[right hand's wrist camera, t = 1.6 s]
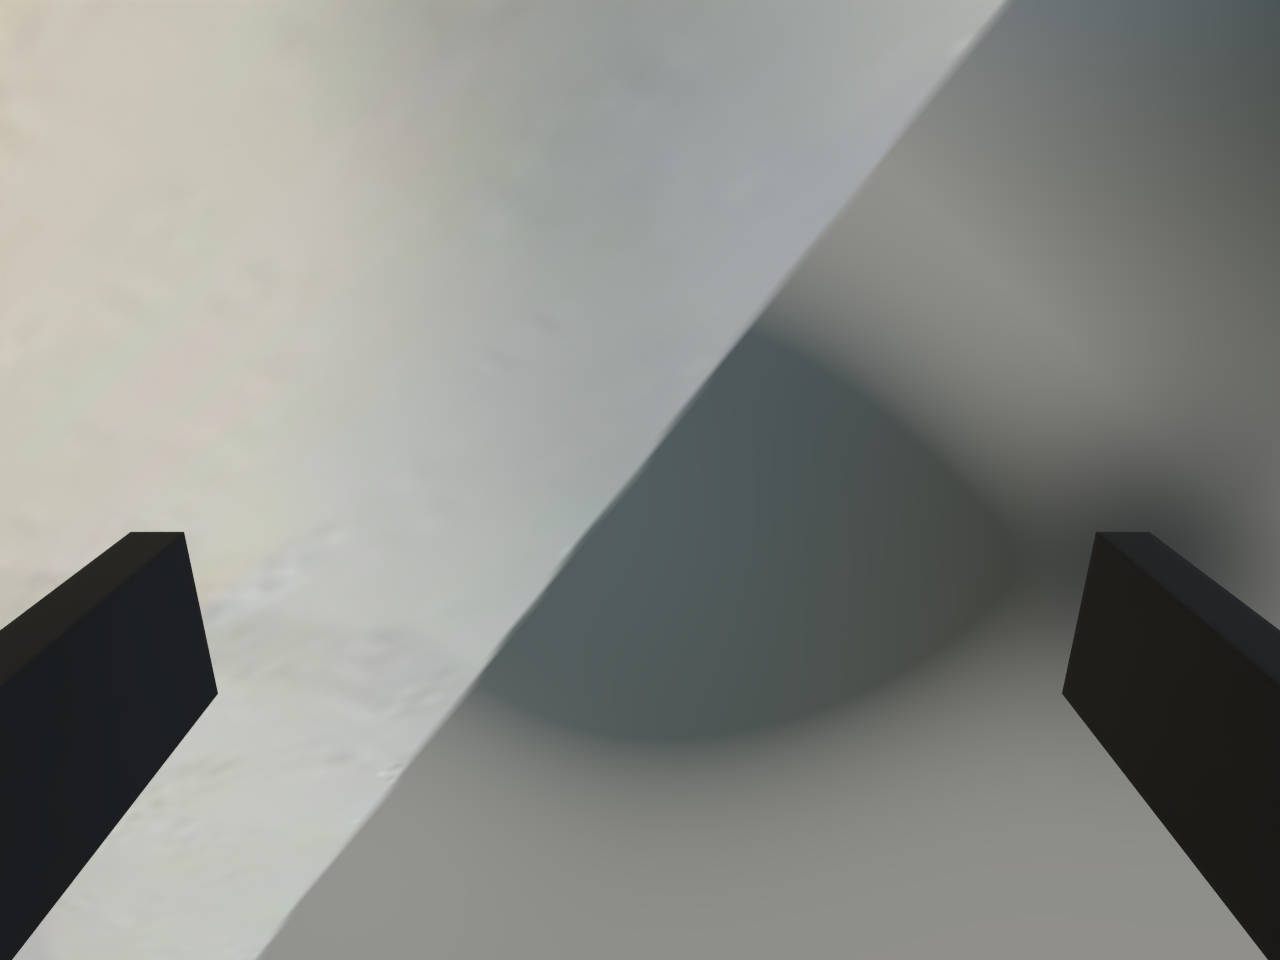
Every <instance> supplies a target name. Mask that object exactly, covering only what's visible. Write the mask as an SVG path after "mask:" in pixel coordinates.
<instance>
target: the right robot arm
mask: <svg viewBox="0 0 1280 960" xmlns="http://www.w3.org/2000/svg"><path fill="white" fill-rule="evenodd" d="M217 694H218V692H217V687H216V682H215V678H214V673H213V668H212V663H211V658H210V654H209V649H208V644H207V639H206V635H205V630H204V625H203V620H202V616H201V611H200V606H199V601H198V597H197V592H196V587H195V582H194V578H193V573H192V568H191V563H190V559H189V554H188V549H187V544H186V540H185V535H184V532H130V533H129V534H127V535H126V536H125V537H123V538H122V539H121V540H119V541H118V542H117V543H115V544H114V545H113V546H112V547H110V548H109V549H108V550H106V551H105V552H104V553H102V554H101V555H100V556H98V557H97V558H96V559H94V560H93V561H92V562H90V563H89V564H88V565H86V566H85V567H84V568H82V569H81V570H80V571H78V572H77V573H76V574H74V575H73V576H72V577H70V578H69V579H68V580H66V581H65V582H64V583H62V584H61V585H60V586H58V587H57V588H56V589H55V590H53V591H52V592H51V593H49V594H48V595H47V596H45V597H44V598H43V599H41V600H40V601H39V602H37V603H36V604H35V605H33V606H32V607H31V608H29V609H28V610H27V611H25V612H24V613H23V614H21V615H20V616H19V617H17V618H16V619H15V620H13V621H12V622H11V623H9V624H8V625H7V626H5V627H4V628H3V629H1V630H0V960H12V959H13V958H14V957H15V955H16V954H17V953H18V951H19V950H20V949H21V947H22V946H23V945H24V944H25V942H26V941H27V940H28V938H29V937H30V936H31V935H32V933H33V932H34V931H35V929H36V928H37V927H38V925H39V924H40V923H41V922H42V920H43V919H44V918H45V916H46V915H47V914H48V913H49V911H50V910H51V909H52V907H53V906H54V905H55V903H56V902H57V901H58V900H59V898H60V897H61V896H62V894H63V893H64V892H65V891H66V889H67V888H68V887H69V885H70V884H71V883H72V882H73V880H74V879H75V878H76V876H77V875H78V874H79V872H80V871H81V870H82V869H83V867H84V866H85V865H86V863H87V862H88V861H89V860H90V858H91V857H92V856H93V854H94V853H95V852H96V850H97V849H98V848H99V847H100V845H101V844H102V843H103V841H104V840H105V839H106V838H107V836H108V835H109V834H110V832H111V831H112V830H113V829H114V827H115V826H116V825H117V823H118V822H119V821H120V819H121V818H122V817H123V816H124V814H125V813H126V812H127V810H128V809H129V808H130V807H131V805H132V804H133V803H134V801H135V800H136V799H137V797H138V796H139V795H140V794H141V792H142V791H143V790H144V788H145V787H146V786H147V785H148V783H149V782H150V781H151V779H152V778H153V777H154V775H155V774H156V773H157V772H158V770H159V769H160V768H161V766H162V765H163V764H164V763H165V761H166V760H167V759H168V757H169V756H170V755H171V754H172V752H173V751H174V750H175V748H176V747H177V746H178V744H179V743H180V742H181V741H182V739H183V738H184V737H185V735H186V734H187V733H188V732H189V730H190V729H191V728H192V726H193V725H194V724H195V722H196V721H197V720H198V719H199V717H200V716H201V715H202V713H203V712H204V711H205V710H206V708H207V707H208V706H209V704H210V703H211V702H212V701H213V699H214V698H215V697H216V695H217ZM1062 694H1063V695H1064V697H1065V698H1066V699H1067V700H1068V702H1069V703H1070V704H1071V706H1072V707H1073V708H1074V710H1075V711H1076V712H1077V713H1078V715H1079V716H1080V717H1081V719H1082V720H1083V721H1084V722H1085V724H1086V725H1087V726H1088V728H1089V729H1090V730H1091V731H1092V733H1093V734H1094V735H1095V737H1096V738H1097V739H1098V741H1099V742H1100V743H1101V744H1102V746H1103V747H1104V748H1105V750H1106V751H1107V752H1108V754H1109V755H1110V756H1111V757H1112V759H1113V760H1114V761H1115V763H1116V764H1117V765H1118V766H1119V768H1120V769H1121V770H1122V772H1123V773H1124V774H1125V775H1126V777H1127V778H1128V779H1129V781H1130V782H1131V783H1132V784H1133V786H1134V787H1135V788H1136V790H1137V791H1138V792H1139V794H1140V795H1141V796H1142V797H1143V799H1144V800H1145V801H1146V803H1147V804H1148V805H1149V806H1150V808H1151V809H1152V810H1153V812H1154V813H1155V814H1156V816H1157V817H1158V818H1159V819H1160V821H1161V822H1162V823H1163V825H1164V826H1165V827H1166V829H1167V830H1168V831H1169V832H1170V834H1171V835H1172V836H1173V838H1174V839H1175V840H1176V841H1177V843H1178V844H1179V845H1180V847H1181V848H1182V849H1183V850H1184V852H1185V853H1186V854H1187V856H1188V857H1189V858H1190V859H1191V861H1192V862H1193V863H1194V865H1195V866H1196V867H1197V869H1198V870H1199V871H1200V872H1201V874H1202V875H1203V876H1204V878H1205V879H1206V880H1207V881H1208V883H1209V884H1210V885H1211V887H1212V888H1213V889H1214V891H1215V892H1216V893H1217V894H1218V896H1219V897H1220V898H1221V900H1222V901H1223V902H1224V903H1225V905H1226V906H1227V907H1228V909H1229V910H1230V911H1231V913H1232V914H1233V915H1234V916H1235V918H1236V919H1237V920H1238V922H1239V923H1240V924H1241V925H1242V927H1243V928H1244V929H1245V931H1246V932H1247V933H1248V934H1249V936H1250V937H1251V938H1252V940H1253V941H1254V942H1255V944H1256V945H1257V946H1258V947H1259V949H1260V950H1261V951H1262V953H1263V954H1264V955H1265V957H1266V958H1267V959H1268V960H1280V630H1279V629H1277V628H1276V627H1275V626H1273V625H1272V624H1271V623H1269V622H1268V621H1267V620H1265V619H1264V618H1263V617H1261V616H1260V615H1259V614H1257V613H1256V612H1255V611H1253V610H1252V609H1251V608H1249V607H1248V606H1247V605H1245V604H1244V603H1243V602H1241V601H1240V600H1239V599H1237V598H1236V597H1235V596H1233V595H1232V594H1231V593H1229V592H1228V591H1227V590H1225V589H1224V588H1223V587H1221V586H1220V585H1219V584H1218V583H1216V582H1215V581H1213V580H1212V579H1211V578H1209V577H1208V576H1207V575H1206V574H1204V573H1203V572H1202V571H1200V570H1199V569H1198V568H1196V567H1195V566H1194V565H1192V564H1191V563H1190V562H1188V561H1187V560H1186V559H1184V558H1183V557H1182V556H1180V555H1179V554H1178V553H1176V552H1175V551H1174V550H1172V549H1171V548H1170V547H1168V546H1167V545H1166V544H1165V543H1163V542H1162V541H1161V540H1159V539H1158V538H1157V537H1155V536H1154V535H1153V534H1151V533H1150V532H1096V535H1095V540H1094V544H1093V549H1092V554H1091V559H1090V563H1089V568H1088V573H1087V578H1086V582H1085V587H1084V592H1083V597H1082V601H1081V607H1080V611H1079V616H1078V621H1077V625H1076V630H1075V635H1074V639H1073V644H1072V649H1071V654H1070V659H1069V663H1068V668H1067V673H1066V678H1065V682H1064V687H1063V692H1062Z"/></svg>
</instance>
